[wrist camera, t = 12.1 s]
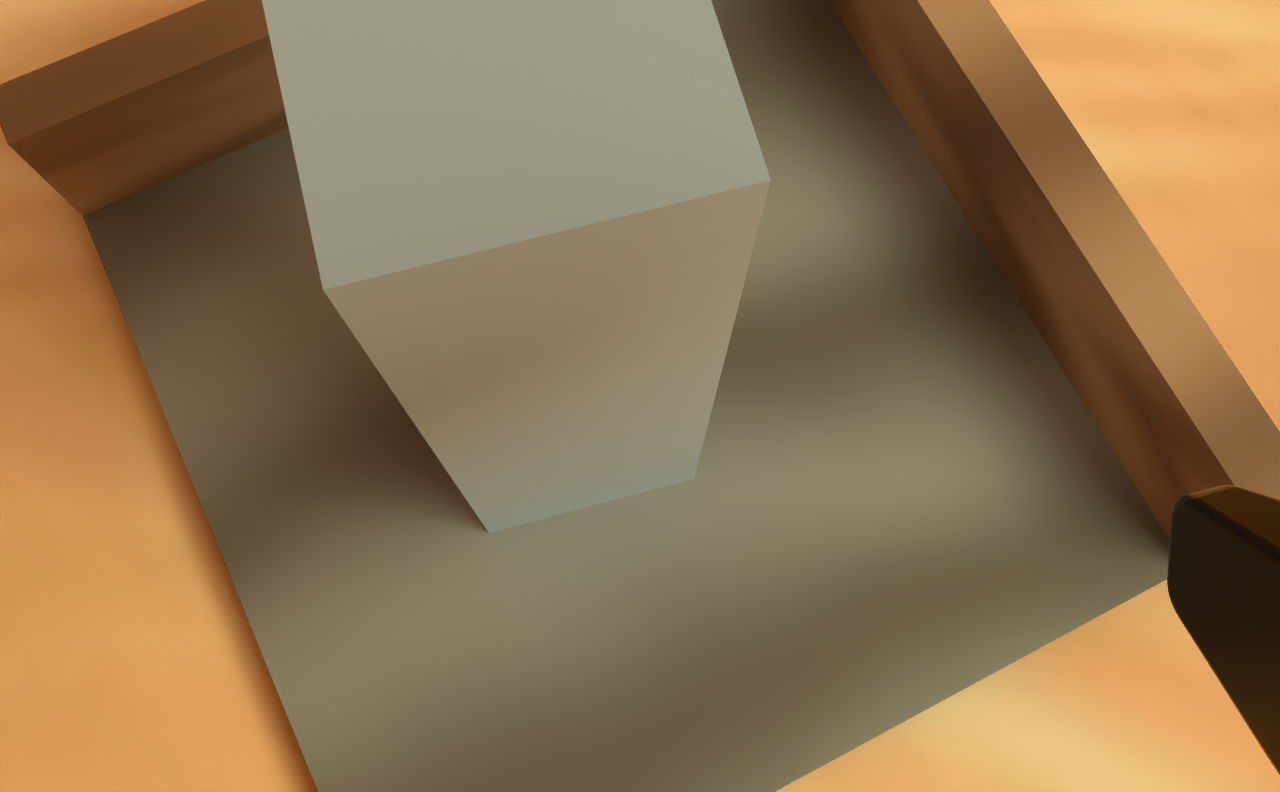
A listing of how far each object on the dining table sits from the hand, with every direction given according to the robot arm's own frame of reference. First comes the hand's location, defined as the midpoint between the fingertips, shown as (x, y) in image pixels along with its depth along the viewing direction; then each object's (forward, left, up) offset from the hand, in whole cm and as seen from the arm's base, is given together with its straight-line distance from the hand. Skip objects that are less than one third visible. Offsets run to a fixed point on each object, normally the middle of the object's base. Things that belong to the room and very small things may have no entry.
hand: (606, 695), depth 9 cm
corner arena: (+6, -3, -14) cm, 15 cm away
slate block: (+6, -2, -13) cm, 14 cm away
